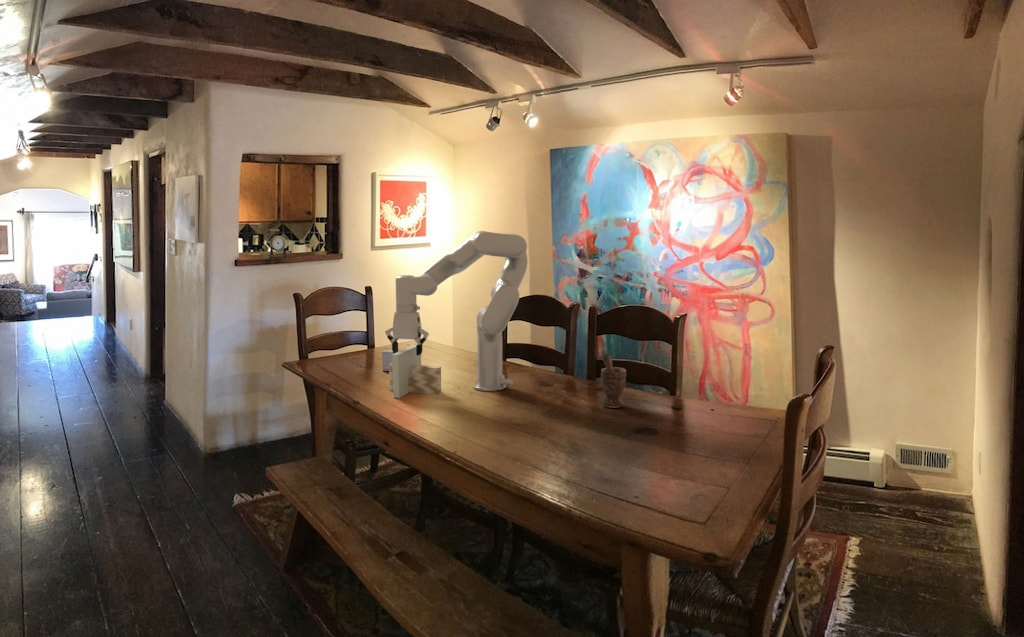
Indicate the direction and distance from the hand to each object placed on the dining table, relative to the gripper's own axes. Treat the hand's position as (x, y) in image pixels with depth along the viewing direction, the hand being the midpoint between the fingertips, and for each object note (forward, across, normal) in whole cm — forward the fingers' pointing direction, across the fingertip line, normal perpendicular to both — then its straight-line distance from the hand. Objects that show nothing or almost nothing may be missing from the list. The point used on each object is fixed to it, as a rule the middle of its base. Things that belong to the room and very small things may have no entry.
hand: (407, 353), depth 249 cm
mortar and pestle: (+14, -77, -1) cm, 78 cm away
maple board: (+14, -3, 0) cm, 15 cm away
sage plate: (+14, 0, 0) cm, 14 cm away
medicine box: (+15, +20, -28) cm, 37 cm away
